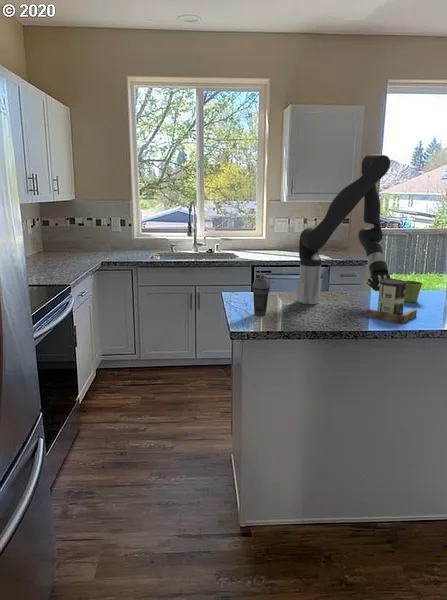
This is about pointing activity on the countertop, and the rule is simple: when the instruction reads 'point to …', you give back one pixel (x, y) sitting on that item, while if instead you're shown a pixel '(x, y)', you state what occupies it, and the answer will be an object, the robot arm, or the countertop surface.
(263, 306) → the beverage cup
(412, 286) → the plant pot
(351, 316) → the countertop surface
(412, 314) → the bracket
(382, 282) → the coffee can
